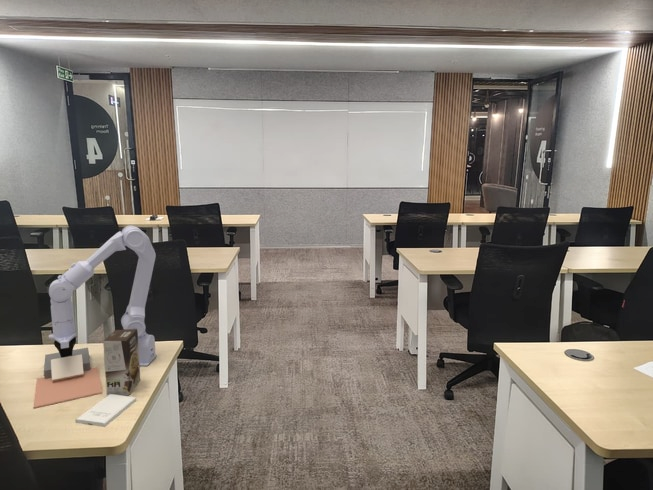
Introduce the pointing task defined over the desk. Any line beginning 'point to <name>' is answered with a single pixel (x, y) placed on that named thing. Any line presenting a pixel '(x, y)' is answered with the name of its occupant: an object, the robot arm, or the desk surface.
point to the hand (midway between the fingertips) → (67, 362)
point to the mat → (67, 388)
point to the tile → (67, 367)
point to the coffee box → (121, 362)
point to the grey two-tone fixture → (57, 355)
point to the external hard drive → (106, 410)
